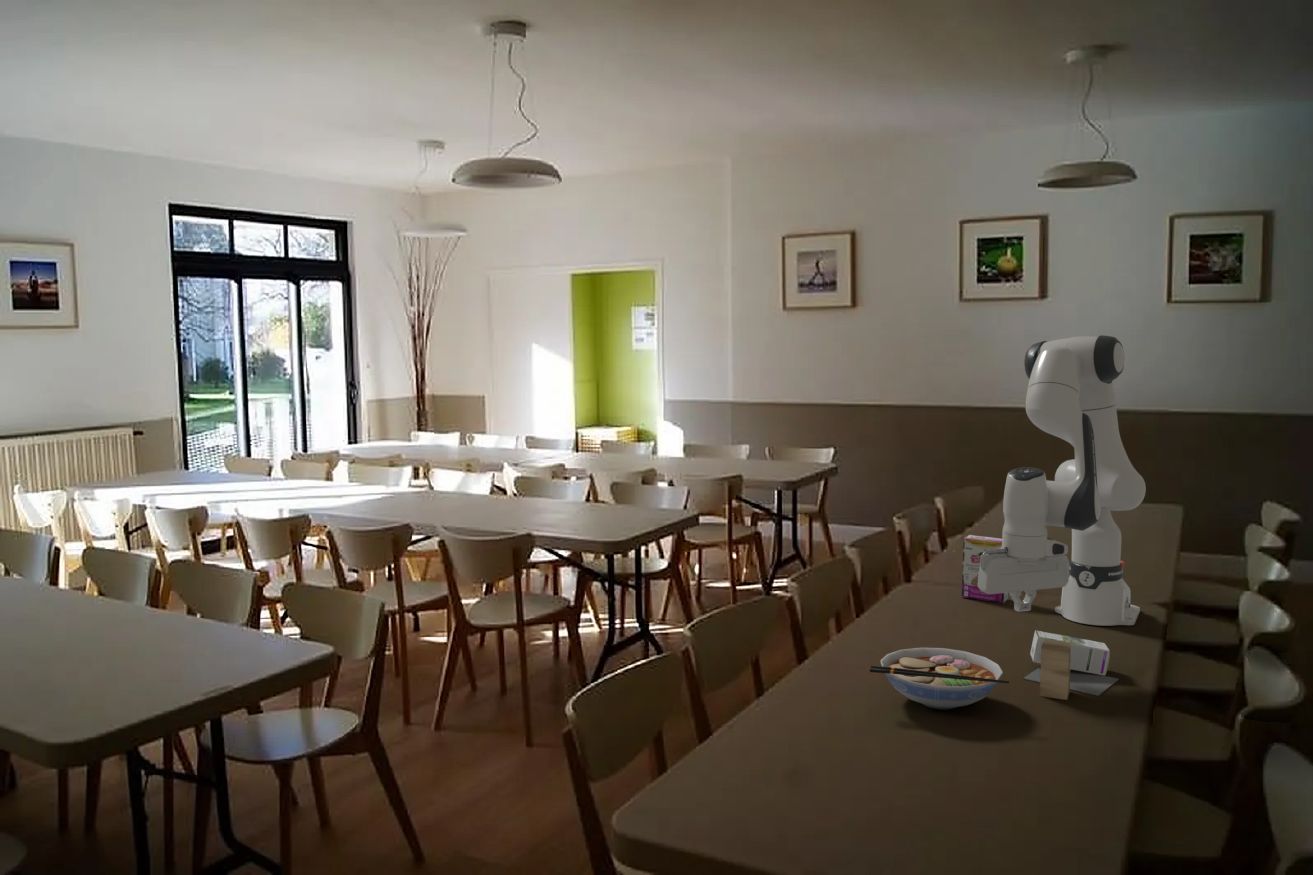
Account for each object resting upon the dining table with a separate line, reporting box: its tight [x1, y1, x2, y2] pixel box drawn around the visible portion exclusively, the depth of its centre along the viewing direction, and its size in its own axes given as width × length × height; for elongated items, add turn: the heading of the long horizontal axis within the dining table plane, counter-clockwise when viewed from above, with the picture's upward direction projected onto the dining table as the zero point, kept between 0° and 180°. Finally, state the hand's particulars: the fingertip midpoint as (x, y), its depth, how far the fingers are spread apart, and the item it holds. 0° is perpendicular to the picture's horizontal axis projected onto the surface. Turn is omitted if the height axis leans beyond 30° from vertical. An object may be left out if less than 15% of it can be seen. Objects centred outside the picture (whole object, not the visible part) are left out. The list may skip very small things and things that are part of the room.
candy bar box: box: [961, 534, 1009, 604], centre depth 269 cm, size 11×5×16 cm, turn 58°
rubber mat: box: [1022, 666, 1120, 697], centre depth 209 cm, size 12×15×1 cm
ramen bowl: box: [869, 647, 1010, 710], centre depth 197 cm, size 25×23×8 cm
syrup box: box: [1029, 629, 1111, 676], centre depth 214 cm, size 6×6×14 cm
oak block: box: [1039, 639, 1071, 701], centre depth 200 cm, size 5×5×10 cm
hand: (1022, 610), depth 214 cm, fingers closed
